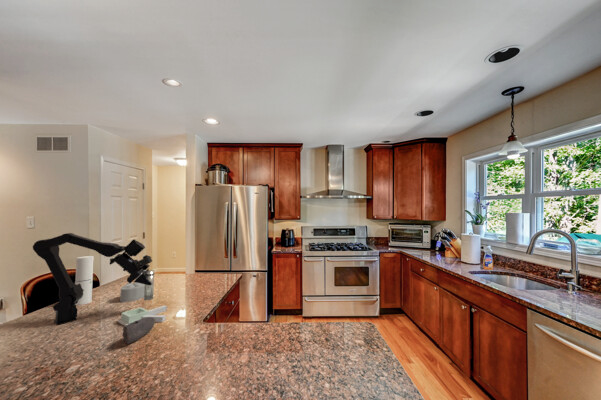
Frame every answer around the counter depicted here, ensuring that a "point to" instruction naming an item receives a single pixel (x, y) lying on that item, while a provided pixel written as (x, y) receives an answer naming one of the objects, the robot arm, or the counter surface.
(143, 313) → the shaft rig
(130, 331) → the perforated stone tool
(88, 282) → the cylindrical container
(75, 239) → the robot arm
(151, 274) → the shiny grey metal cylinder
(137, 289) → the lumpy-topped squat cylinder
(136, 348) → the counter surface
